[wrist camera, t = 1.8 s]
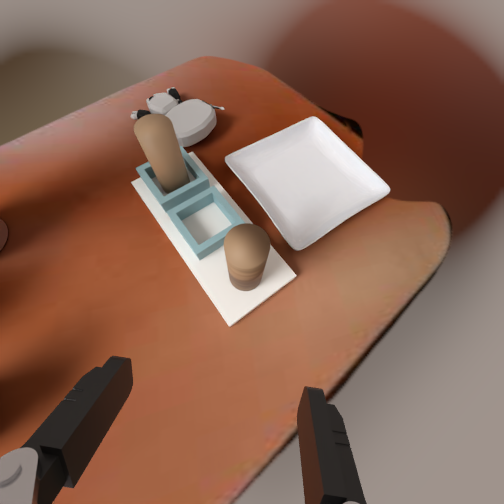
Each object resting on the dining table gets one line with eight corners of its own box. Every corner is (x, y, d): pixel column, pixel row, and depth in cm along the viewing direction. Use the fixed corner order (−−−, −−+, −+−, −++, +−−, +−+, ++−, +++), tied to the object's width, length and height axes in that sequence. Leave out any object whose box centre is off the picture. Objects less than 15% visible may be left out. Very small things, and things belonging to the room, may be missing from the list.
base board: (229, 327, 33) (223, 316, 21) (134, 187, 41) (92, 124, 29) (294, 278, 36) (319, 245, 24) (194, 157, 44) (177, 89, 32)
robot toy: (133, 130, 47) (185, 163, 43) (121, 108, 43) (178, 143, 39) (177, 99, 51) (229, 127, 47) (170, 76, 47) (226, 105, 43)
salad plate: (384, 200, 43) (396, 188, 39) (292, 260, 37) (297, 252, 34) (310, 127, 49) (315, 112, 46) (223, 171, 44) (221, 157, 40)
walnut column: (241, 297, 33) (241, 275, 23) (222, 271, 34) (214, 239, 24) (268, 278, 34) (280, 248, 24) (249, 253, 35) (251, 215, 25)
